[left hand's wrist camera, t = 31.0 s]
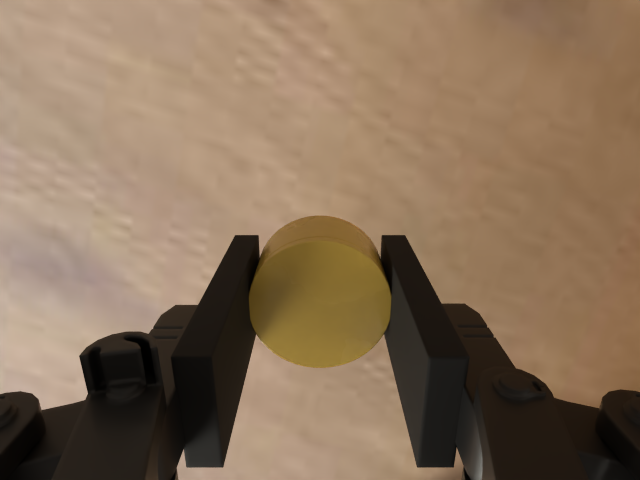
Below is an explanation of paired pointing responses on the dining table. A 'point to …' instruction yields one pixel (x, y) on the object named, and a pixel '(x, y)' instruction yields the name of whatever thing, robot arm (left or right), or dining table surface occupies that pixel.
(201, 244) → the dining table surface
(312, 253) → the cap
